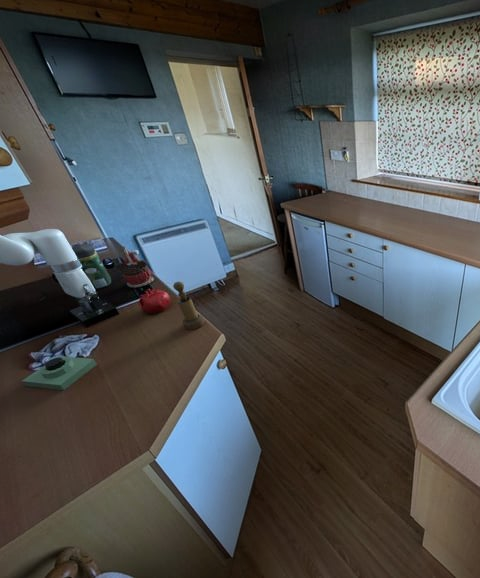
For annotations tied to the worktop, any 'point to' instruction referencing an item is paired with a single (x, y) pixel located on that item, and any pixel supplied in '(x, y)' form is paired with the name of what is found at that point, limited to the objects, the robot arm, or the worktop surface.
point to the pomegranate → (154, 301)
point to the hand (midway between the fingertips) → (91, 306)
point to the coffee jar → (92, 265)
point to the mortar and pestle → (188, 309)
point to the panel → (94, 314)
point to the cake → (135, 270)
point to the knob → (85, 304)
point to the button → (54, 363)
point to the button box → (60, 374)
